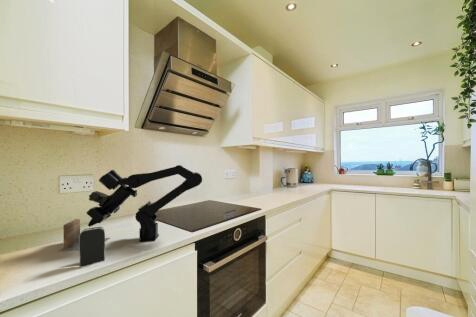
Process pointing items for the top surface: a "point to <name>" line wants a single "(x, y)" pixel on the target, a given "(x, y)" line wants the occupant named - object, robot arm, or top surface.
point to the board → (71, 233)
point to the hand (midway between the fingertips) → (89, 225)
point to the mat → (75, 247)
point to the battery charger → (92, 246)
